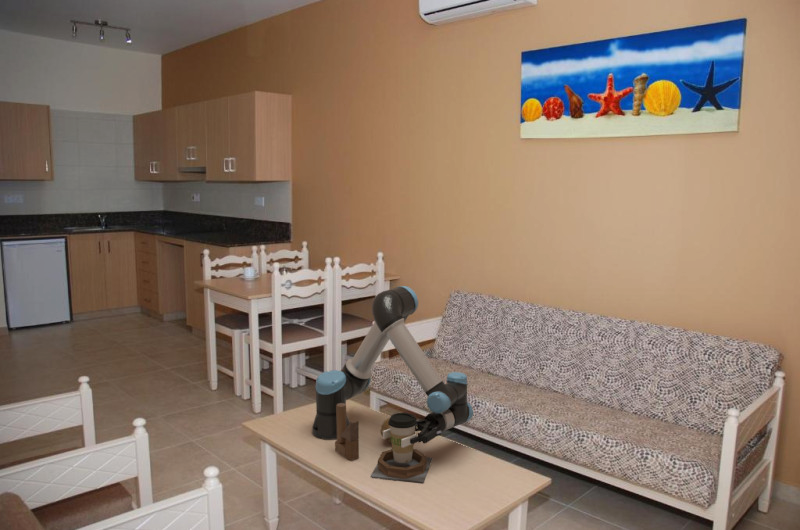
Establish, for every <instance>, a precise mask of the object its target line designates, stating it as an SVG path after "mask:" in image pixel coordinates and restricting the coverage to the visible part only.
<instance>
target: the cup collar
mask: <svg viewBox="0 0 800 530" xmlns="http://www.w3.org/2000/svg"><path fill="white" fill-rule="evenodd" d="M432 461H433V457H431V456H430V457H429V456H427V455H425V454H424V453H422V452H421V451H420V450H418V449H416V448H413V452H412V460H411V461H410V462H407V463H399V462H396V461H395V460H394V455H393V450H392V449H389V450H384V451H381V454H380V455H379V457H378V459H377V462H376V465H375V467H374V469H373V471H372V473H371V474H370V477H372V478H371V479H377V478H380V479H379V480H387V479H388V481H397V482H398V481H399V482H404V483H405V482H407V483H414V484H415V483H416V484H424V483H425V480H426V477H427V474H428V471H429V470H430V466H431V464H432Z"/></svg>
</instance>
